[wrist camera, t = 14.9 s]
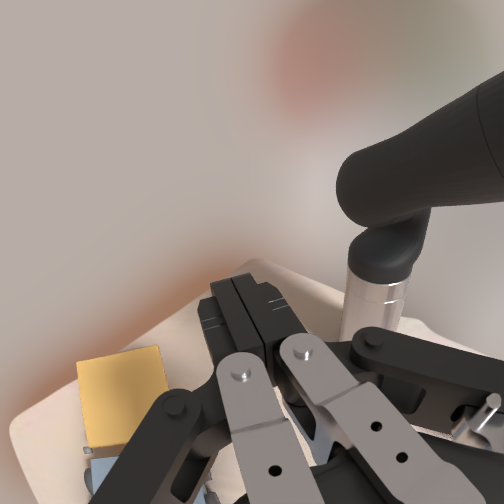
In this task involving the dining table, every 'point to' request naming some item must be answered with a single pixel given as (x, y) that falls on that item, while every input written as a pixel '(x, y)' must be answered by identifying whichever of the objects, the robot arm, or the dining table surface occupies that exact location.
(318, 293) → the dining table surface
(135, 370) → the yellow plate
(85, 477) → the flatbed
